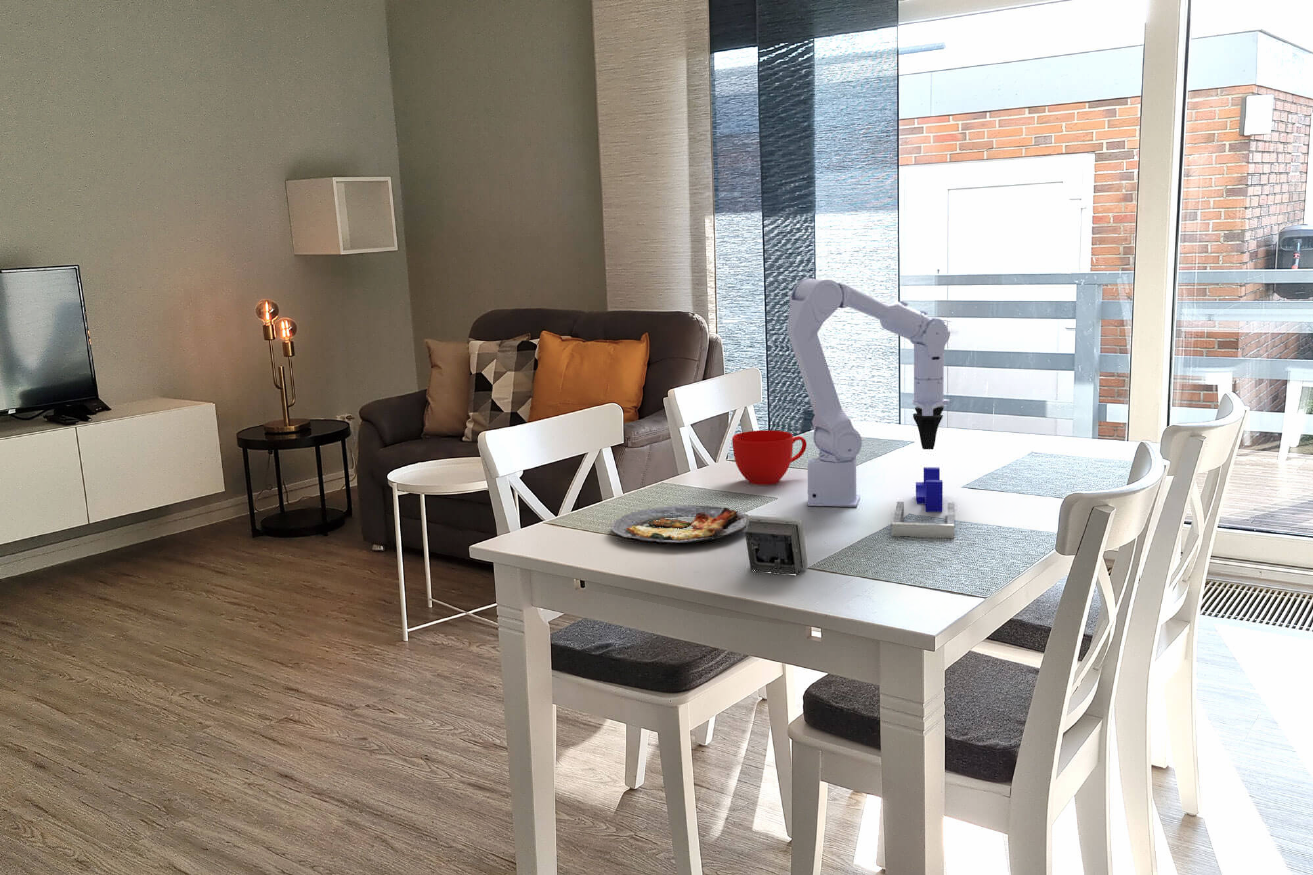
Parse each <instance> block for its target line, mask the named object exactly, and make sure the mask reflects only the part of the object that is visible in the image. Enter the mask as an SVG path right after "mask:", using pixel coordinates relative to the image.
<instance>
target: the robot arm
mask: <svg viewBox="0 0 1313 875" xmlns="http://www.w3.org/2000/svg"><path fill="white" fill-rule="evenodd" d="M788 298H789V304H790V306H789V311H788V312H789V313H788V319H787V327H786V330H787V336H788V338H789V341H790V345H791V347H792V350H793V353H794V356H795V360H796V362H797V366H798V368H799V371H800V374H801V376H802V380H803V384H804V386H805V389H806V392H807V395H808V398H809V402H810V405H811V407H812V410H813V413H814V416H813V419H812V420H811V423H812V427H813V435H812V439H813V443H814V445H815V447H816V449H818V452H819V453H818V457H810V458H808V462H807V463H808V464H807V499H808V500H807V506H809V507H811V506H812V507H813V506H814V507H846V508H847V507H851V508H854V507H855V508H856V507H857V506H858V505H859V504H858V503H859V501H860V499H861V495H860V494H857V455H858V454H859V453H861V452H860V451H861V449H862V446H863V439H862V436H861V434H860V433H859V431H858V430H857V429H855V428H854V426H853V424H852V421H851V418H849V416H848V415H847V413H846V412H845V411H844V410H843V408H842V405H841V402H840V399H839V396H838V392H837V390H836V387H835V384H834V381H833V377H832V375H831V372H830V368H829V365H828V363H827V359H826V356H825V354H824V350H823V347H822V344H821V340H820V338H819V335H818V333H819V331H820V330H821V328H822V326H823V324H824V322H826V321H827V320H828V319H829V318H830V317H831V316H832V315H833V314H834V313H835V312H836V311H837V310H838V309H846V308H850V309H852V310H855V311H858V312H861V313H863V314H866V315H867V316H870V317H872V318H874V319H878V320H879V324H880V326H881V328H882V329H884V330H886V331H888V332H890V333H893V334H895V335H897V336H900V337H902V338H905V339H907V340H908V341H910V342H911V344H913V400H912V404H913V406H915V407H914V411H915V412H916V413H913V414H912V418H913V420H914V421H915V424H916V426H917V428H918V433H919V439H920V443H921V449H922V450H934V449H935V448H934V447H935V445H936V441H937V440H936V439H937V433H938V429H939V426H940V424H941V421H942V419H943V418H944V414H942V413H943V411H944V409H945V408H944V405H949V404H950V399H948V398H944V377H945V376H944V372H945V370H944V369H945V367H944V366H945V365H944V363H945V362H944V358H945V356H944V354H945V347H946V344H948V341H949V340H950V336H951V332H950V331H949V329H948V326H947V324H945V323H946V322H945V321H944V320H942V319H940V318H935V317H929V316H928V312H927V311H925V310H920V311H918V310H917V309H915V308H912V307H909V306H908V305H909V303H908V302H906V300H899V301H892V302H891V301H890V303H884V302H883V301H881V300H878V299H877V298H875V297H873V296H871V295H868V294H867V293H866V292H863V291H861V290H859V289H857V288H855V287H853V286H851V285H848V284H845V283H842V282H837V281H836V280H835V281H834V280H833V279H829V278H828V279H827V278H826V279H825V278H824V279H818V278H817V279H815V278H813V277H804V278H802V279H800V280H799V281H798V282H797V283H796V284H795V286H794V288H793V289H792V291H791V293H790V294H789V296H788Z"/></svg>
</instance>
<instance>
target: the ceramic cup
mask: <svg viewBox="0 0 1313 875" xmlns="http://www.w3.org/2000/svg"><path fill="white" fill-rule="evenodd" d="M797 441H801V443H802V444H801V447H800V449H799V452H798V453H796V454H795V455H794V456H793V448H794V443H795V442H797ZM731 442H732V451H733V458H734V462H735V464H736V467H737V469H738V471H739V472H740V473H741V475H742V476H743V477H744V480H747V482H748V484H751V485H755V486H769V485H775V484H778V483H780V480H781V479H782V478H783V477H784V476H785V474H786V473H787V472H788V469H789V468H790V465H791V463H793V462H795V461H797V460H798V459H799V458H801V457H802V456H803V454H805V452H806V450H807V440H806V439H805V438H804V437H802V436H794V435H793V434H792V433H791V432H788V431H781V430H750V431H745V432H739V433H736V434H734V435H733V436H732V441H731Z"/></svg>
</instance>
